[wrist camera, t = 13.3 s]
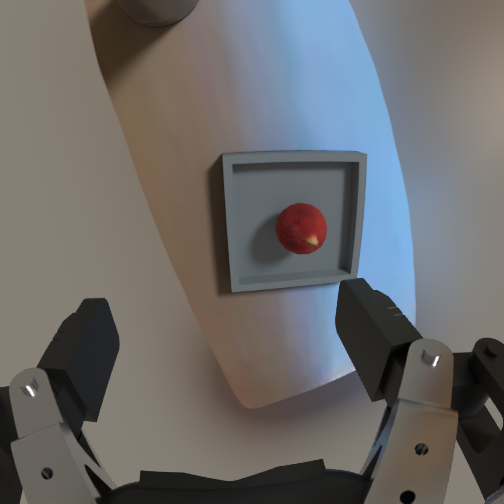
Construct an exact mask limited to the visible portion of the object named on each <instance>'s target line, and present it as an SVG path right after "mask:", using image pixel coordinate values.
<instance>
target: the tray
mask: <svg viewBox="0 0 504 504" xmlns="http://www.w3.org/2000/svg"><path fill="white" fill-rule="evenodd" d="M222 159H223V176H224V192H225V208H226V223H227V237H228V251H229V264H230V277H231V289H232V292H242V291H253V290H265V289H276V288H286V287H296V286H306V285H316V284H325V283H334V282H341V281H342V280H348V279H356V278H357V273H358V265H359V256H360V248H361V238H362V228H363V217H364V204H365V189H366V169H367V154H365V153H361V152H357V151H327V150H291V151H256V152H236V153H222ZM296 203H305V204H311V205H312V206H314V207H316V208H317V209H319V210H320V212H321V213H322V215H323V216H324V218H325V220H326V224H327V235H326V239H325V241H324V243H323V245H322V246H321V247H320V248H319V249H317V250H316V251H315V252H312V253H310V254H295V253H293V252H291V251H288V250H286V249H285V247H284V246H283V245H282V244H281V243H280V242H279V241H278V237H277V233H276V228H275V227H276V223H277V219H278V217H279V215H280V214H281V213H282V211H283V210H284V209H286V208H287V207H288V206H290V205H293V204H296Z"/></svg>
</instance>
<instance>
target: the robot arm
mask: <svg viewBox="0 0 504 504" xmlns="http://www.w3.org/2000/svg"><path fill="white" fill-rule="evenodd" d="M116 1H117V2H118V3H119V5H120V6H121V7H122V8H123V9H124V10H125V11H126V13H127V14H128V15H129V16H130V17H131V18H132V19H133V20H134V21H135V22H137V23H139V24H141V25H144V26H149V27H161V26H166V25H170V24H173V23H175V22H178V21H179V20H181V19H183V18H184V17H186V16H187V15H188V14H189V13H190V12H191V11H192V10H193V9H194V8H195V6H196V4H197V3H198V1H199V0H116ZM335 325H336V330H337V334H338V336H339V338H340V340H341V342H342V343H343V345H344V347H345V349H346V351H347V353H348V355H349V357H350V359H351V361H352V363H353V365H354V367H355V369H356V371H357V373H358V375H359V377H360V379H361V381H362V383H363V385H364V387H365V389H366V390H367V393H368V395H369V397H370V399H371V401H372V402H374V401H378V400H382V399H385V401H386V402H387V406H386V408H385V411H384V414H383V417H382V420H381V422H380V426H379V428H378V431H377V434H376V437H375V439H374V442H373V445H372V448H371V450H370V452H369V455H368V457H367V459H366V461H365V463H364V465H363V467H362V469H361V471H360V474H357V473H353V472H349V471H344V470H336V469H326V468H325V465H324V462H323V459H319V460H314V461H309V462H304V463H298V464H292V465H286V466H279V467H276V468H273V469H270V470H267V471H264V472H261V473H258V474H255V475H252V476H249V477H246V478H242V479H239V480H236V481H223V480H217V479H212V478H206V477H202V476H197V475H192V474H187V473H178V472H155V471H140V481H138V482H134V483H129V484H126V485H123V486H120V487H117V486H116V484H115V483H114V482H113V481H112V479H111V478H110V477H109V475H108V474H107V472H106V471H105V469H104V467H103V466H102V464H101V462H100V460H99V458H98V457H97V455H96V453H95V451H94V449H93V447H92V445H91V444H90V442H89V440H88V438H87V436H86V434H85V432H84V430H83V429H82V425H83V421H91V422H97V419H98V416H99V412H100V409H101V405H102V402H103V398H104V395H105V392H106V388H107V385H108V382H109V379H110V376H111V372H112V369H113V366H114V363H115V360H116V357H117V354H118V351H119V345H120V344H119V335H118V332H117V329H116V326H115V323H114V320H113V317H112V314H111V310H110V307H109V304H108V302H107V300H106V299H105V298H87V299H84V300H83V301H82V303H81V305H80V306H79V308H78V309H77V311H76V313H72V314H71V315H70V316H69V317H68V318H67V319H65V320H64V321H63V322H62V324H61V326H60V327H59V329H58V331H57V333H56V334H55V336H54V337H53V341H51V342H50V344H49V346H48V348H47V349H46V351H45V353H44V355H43V356H42V358H41V360H40V362H39V363H38V365H37V367H36V368H29V369H26V370H23V371H21V372H20V373H18V374H17V375H16V376H15V377H14V378H13V380H12V382H11V383H10V386H7V387H0V504H20V499H21V494H22V489H23V490H24V493H25V496H26V499H27V501H28V504H443V502H444V498H445V494H446V490H447V485H448V481H449V476H450V471H451V466H452V461H453V454H454V448H455V441H456V440H457V442H458V444H459V446H460V448H461V450H462V452H463V454H464V456H465V458H466V460H467V462H468V464H469V466H470V468H471V470H472V473H473V475H474V477H475V479H476V481H477V484H478V486H479V488H480V490H481V493H482V495H483V497H484V499H485V504H504V344H503V343H501V342H500V341H498V340H495V339H492V338H482V339H479V340H478V341H477V342H476V344H475V345H474V348H473V350H472V352H468V353H467V352H466V353H452V351H451V350H450V349H449V347H448V346H446V345H445V344H444V343H442V342H440V341H438V340H435V339H428V338H425V339H424V338H423V337H422V336H421V335H420V333H419V332H418V331H417V330H416V328H415V327H414V326H413V325H412V324H411V322H410V321H409V320H408V319H407V318H406V316H405V315H403V314H402V312H401V310H400V309H399V308H398V307H396V305H395V303H394V302H393V301H392V300H391V299H390V298H389V297H388V296H387V295H385V294H383V293H382V292H380V291H378V290H373V289H372V288H371V287H370V285H369V284H368V283H367V282H366V281H365V279H363V278H356V279H348V280H342V281H341V282H340V285H339V292H338V301H337V308H336V316H335ZM489 397H490V398H491V400H492V401H493V403H494V404H495V406H496V407H497V409H498V410H499V412H500V413H501V415H502V418H503V427H502V430H501V431H500V429H499V428H498V426H497V424H496V423H495V421H494V419H493V418H492V416H491V414H490V413H489V411H488V410H487V408H486V406H485V405H484V404H485V403H486V401H487V399H488V398H489Z"/></svg>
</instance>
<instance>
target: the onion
mask: <svg viewBox="0 0 504 504" xmlns="http://www.w3.org/2000/svg"><path fill="white" fill-rule="evenodd" d="M275 228H276V233H277V237H278V241H279V242H280V243H281V244H282V245H283V246H284V247H285V249H286V250H288V251H291V252H293V253H295V254H310V253H312V252H315V251H316V250H317V249H319V248H320V247H321V246H322V245H323V243H324V241H325V239H326V235H327V224H326V220H325V218H324V216H323V215H322V213H321V212H320V210H319V209H317V208H316V207H314V206H312V205H311V204H305V203H296V204H293V205H290V206H288V207H287V208H286V209H284V210H283V211H282V213H281V214H280V215H279V217H278V219H277V223H276V227H275Z"/></svg>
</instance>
